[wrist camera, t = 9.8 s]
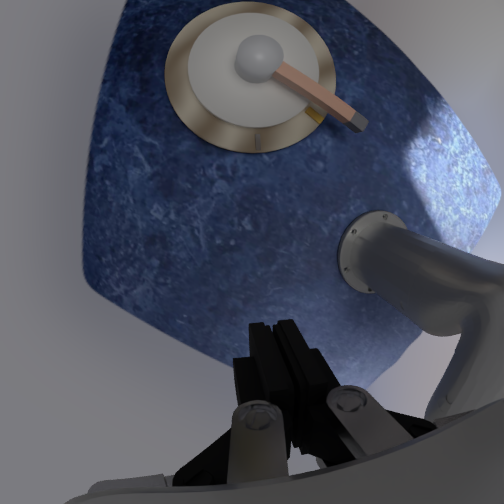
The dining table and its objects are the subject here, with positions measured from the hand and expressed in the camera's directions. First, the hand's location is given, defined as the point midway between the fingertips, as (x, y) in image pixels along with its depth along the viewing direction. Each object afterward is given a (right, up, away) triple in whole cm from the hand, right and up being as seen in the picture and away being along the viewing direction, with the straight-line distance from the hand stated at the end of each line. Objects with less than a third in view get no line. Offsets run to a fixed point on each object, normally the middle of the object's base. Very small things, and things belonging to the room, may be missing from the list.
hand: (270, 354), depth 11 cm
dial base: (-1, +27, +23) cm, 35 cm away
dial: (+2, +25, +22) cm, 34 cm away
